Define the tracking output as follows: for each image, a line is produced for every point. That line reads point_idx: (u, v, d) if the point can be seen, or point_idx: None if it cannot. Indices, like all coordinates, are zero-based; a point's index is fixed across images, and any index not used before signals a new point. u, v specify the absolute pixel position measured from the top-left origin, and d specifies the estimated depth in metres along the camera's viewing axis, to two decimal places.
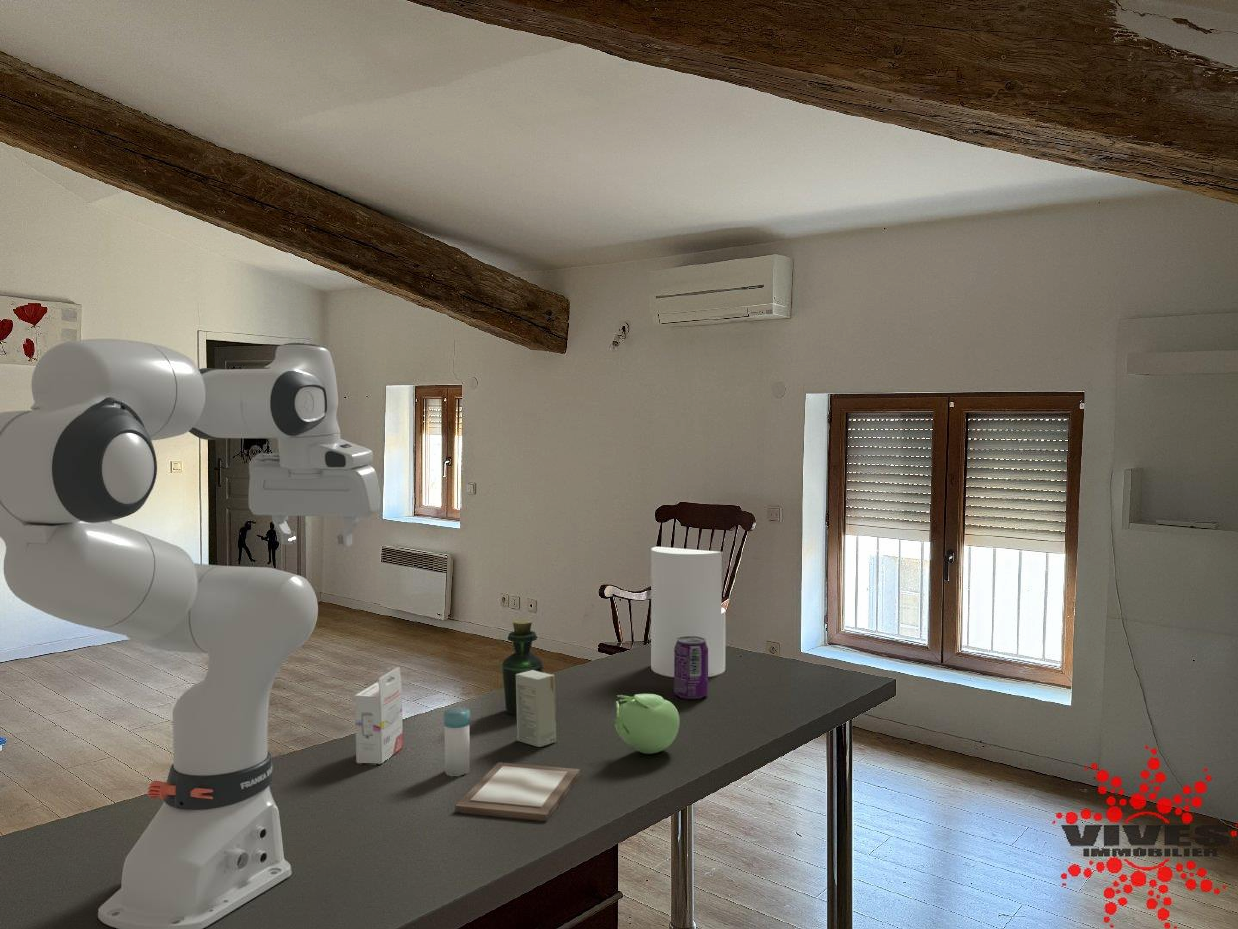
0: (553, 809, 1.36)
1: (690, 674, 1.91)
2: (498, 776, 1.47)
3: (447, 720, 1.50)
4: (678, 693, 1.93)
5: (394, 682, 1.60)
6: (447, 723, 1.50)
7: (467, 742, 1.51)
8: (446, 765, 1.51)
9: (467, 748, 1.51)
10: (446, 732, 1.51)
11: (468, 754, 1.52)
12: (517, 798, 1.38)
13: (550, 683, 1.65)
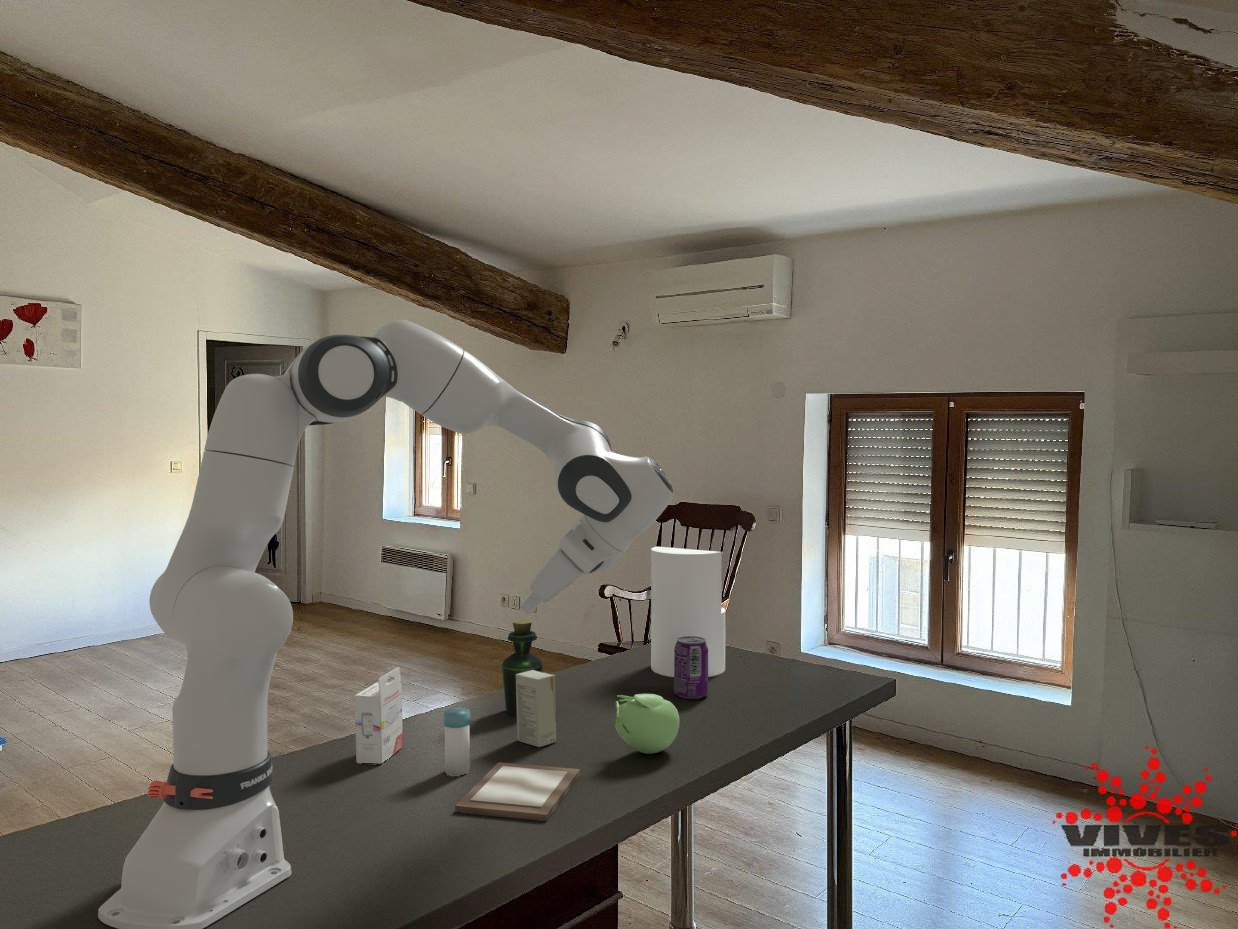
0: (553, 809, 1.36)
1: (690, 674, 1.91)
2: (498, 776, 1.47)
3: (447, 720, 1.50)
4: (678, 693, 1.93)
5: (394, 682, 1.60)
6: (447, 723, 1.50)
7: (467, 742, 1.51)
8: (446, 765, 1.51)
9: (467, 748, 1.51)
10: (446, 732, 1.51)
11: (468, 754, 1.52)
12: (517, 798, 1.38)
13: (550, 683, 1.65)
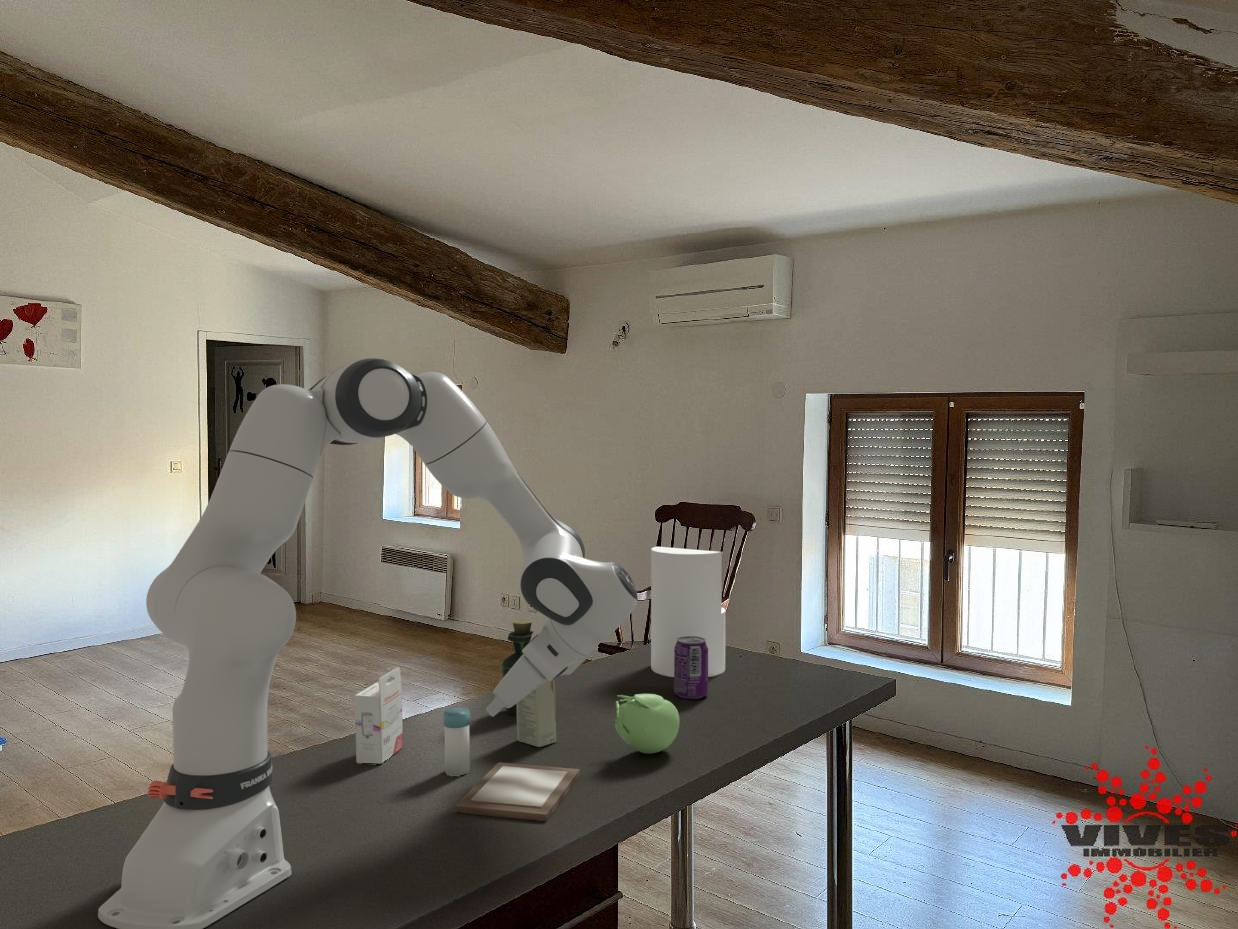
0: (553, 809, 1.36)
1: (690, 674, 1.91)
2: (498, 776, 1.47)
3: (446, 720, 1.50)
4: (678, 693, 1.93)
5: (394, 682, 1.60)
6: (447, 723, 1.50)
7: (467, 742, 1.51)
8: (446, 765, 1.51)
9: (467, 748, 1.51)
10: (446, 732, 1.51)
11: (468, 754, 1.52)
12: (517, 798, 1.38)
13: (550, 683, 1.65)
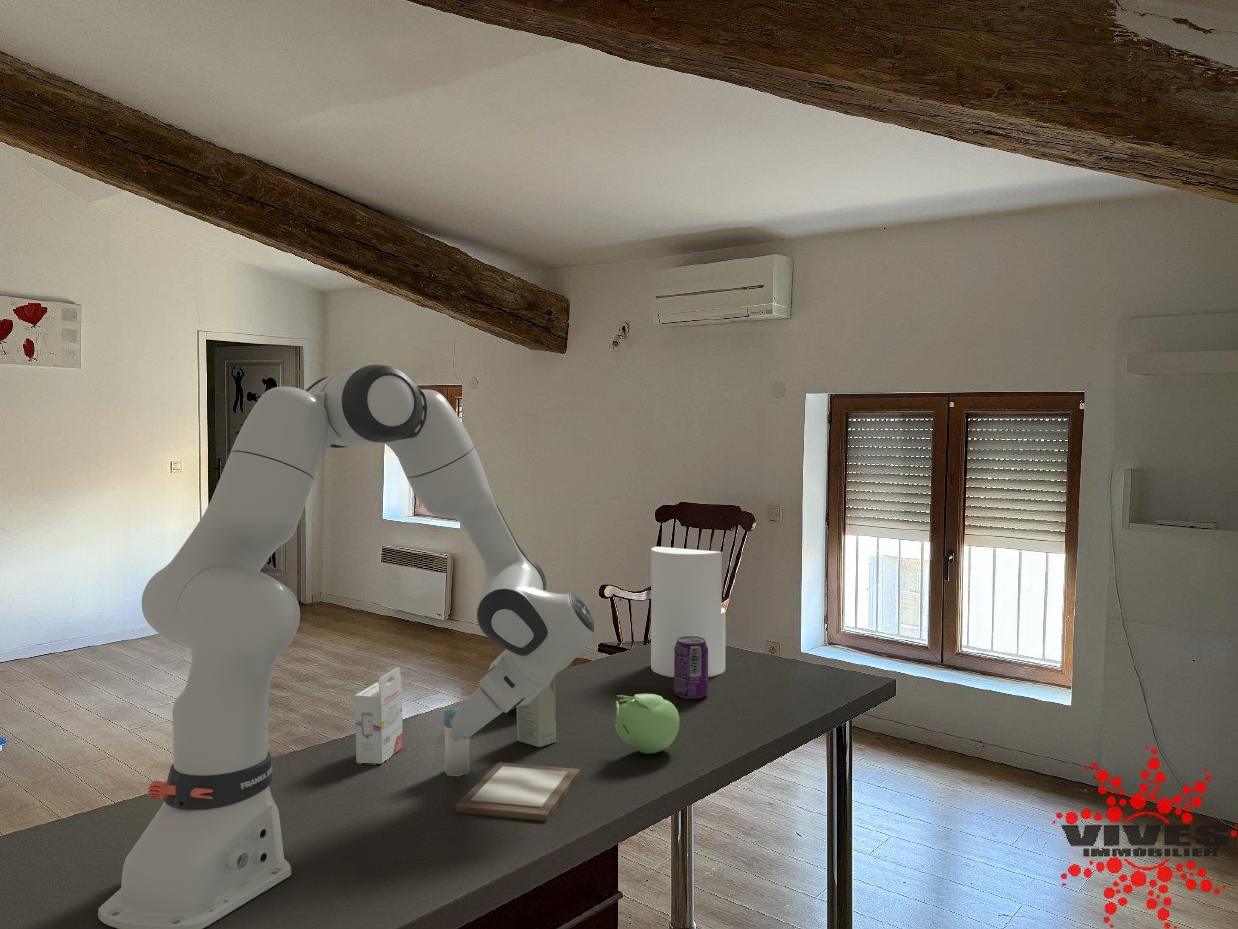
0: (553, 809, 1.36)
1: (690, 674, 1.91)
2: (498, 776, 1.47)
3: (447, 720, 1.50)
4: (678, 693, 1.93)
5: (394, 682, 1.60)
6: (447, 723, 1.50)
7: (467, 742, 1.51)
8: (446, 765, 1.51)
9: (467, 748, 1.51)
10: (446, 732, 1.51)
11: (468, 754, 1.52)
12: (517, 798, 1.38)
13: (550, 683, 1.65)
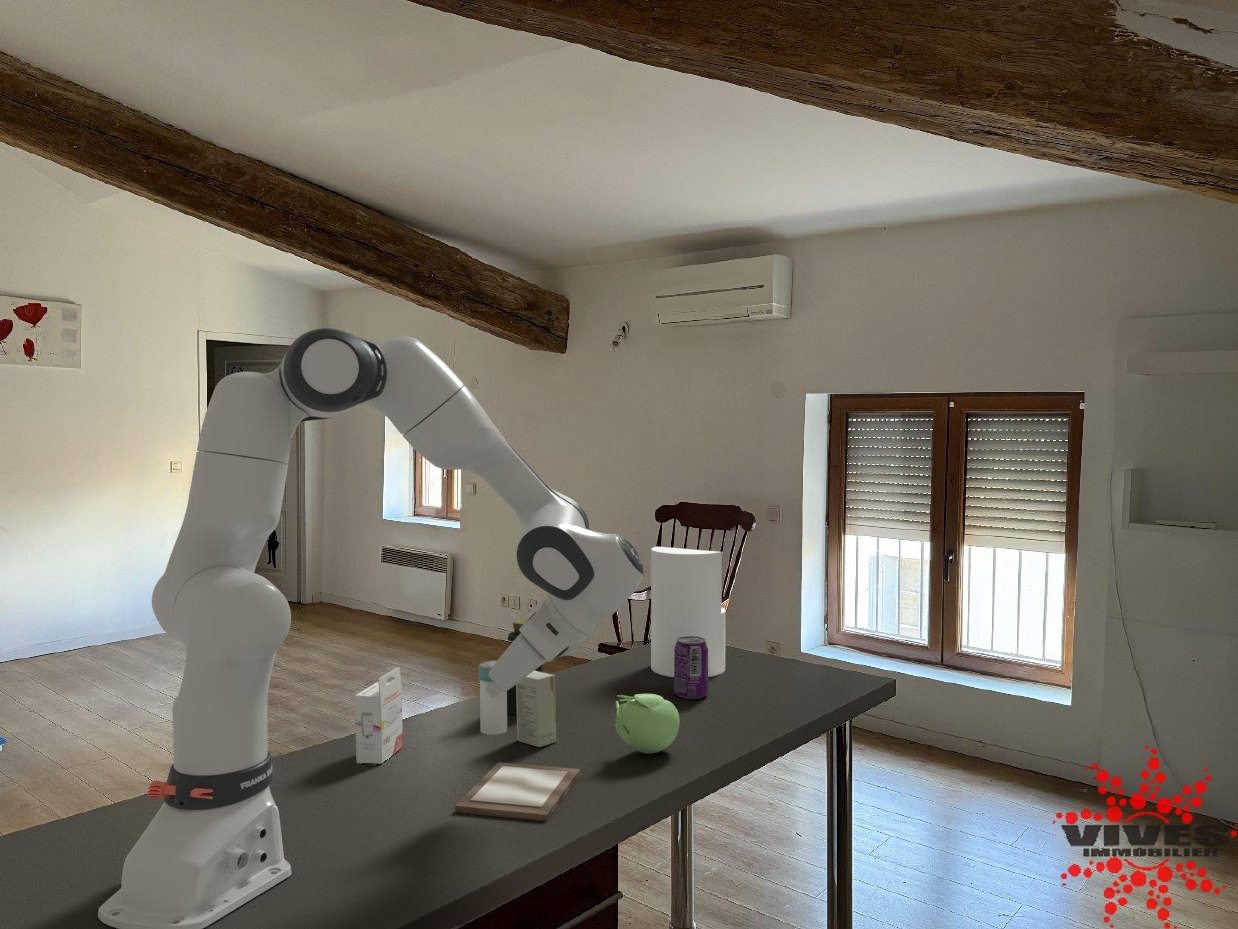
0: (553, 809, 1.36)
1: (690, 674, 1.91)
2: (498, 776, 1.47)
3: (482, 673, 1.38)
4: (678, 693, 1.93)
5: (394, 682, 1.60)
6: (483, 677, 1.38)
7: (504, 697, 1.39)
8: (482, 722, 1.39)
9: (504, 704, 1.39)
10: (482, 686, 1.38)
11: (505, 710, 1.39)
12: (517, 798, 1.38)
13: (550, 683, 1.65)
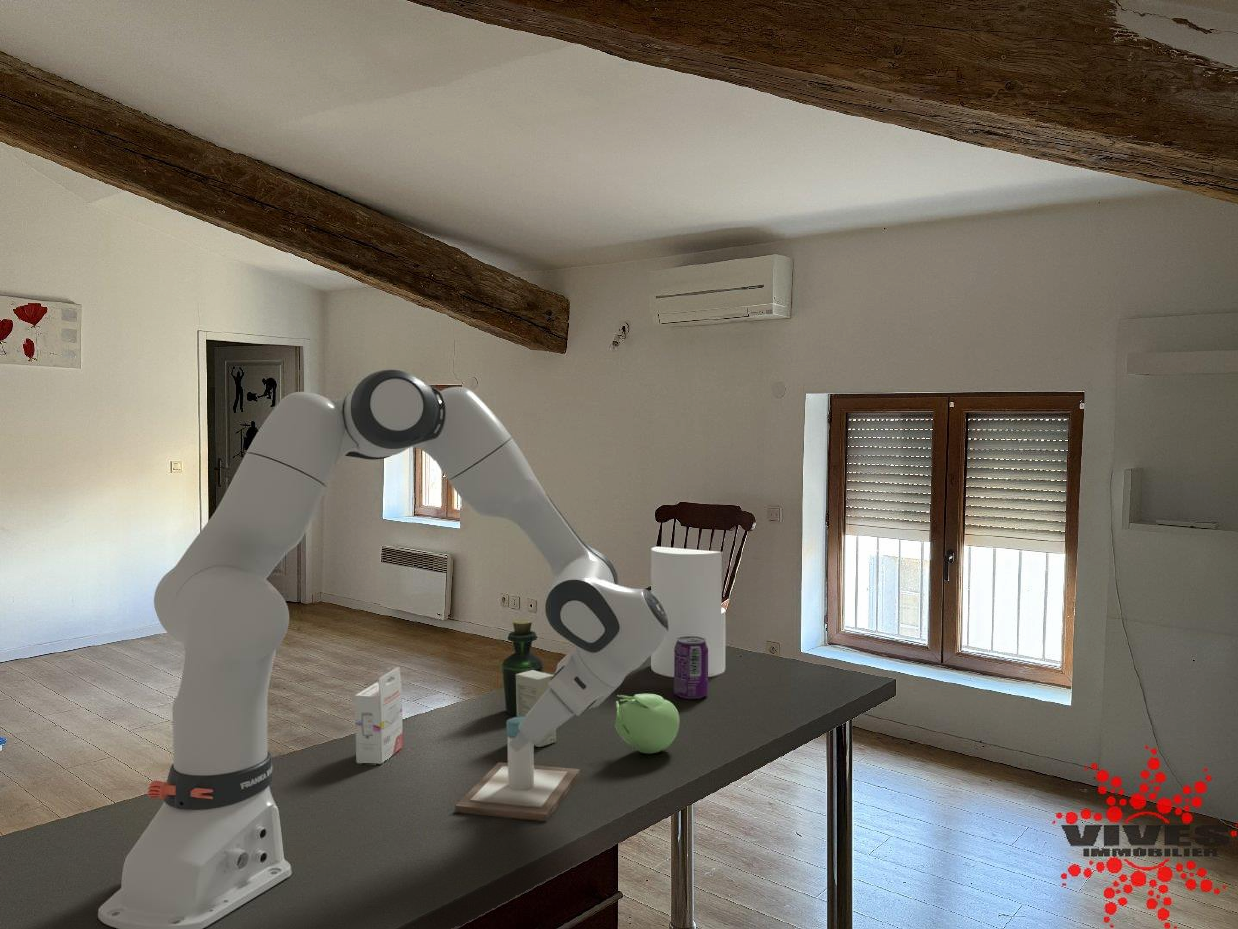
0: (553, 809, 1.36)
1: (690, 674, 1.91)
2: (498, 776, 1.47)
3: (510, 730, 1.41)
4: (678, 693, 1.93)
5: (394, 682, 1.60)
6: (511, 734, 1.42)
7: (532, 753, 1.42)
8: (510, 778, 1.42)
9: (532, 760, 1.42)
10: (509, 743, 1.42)
11: (533, 766, 1.43)
12: (517, 798, 1.38)
13: None
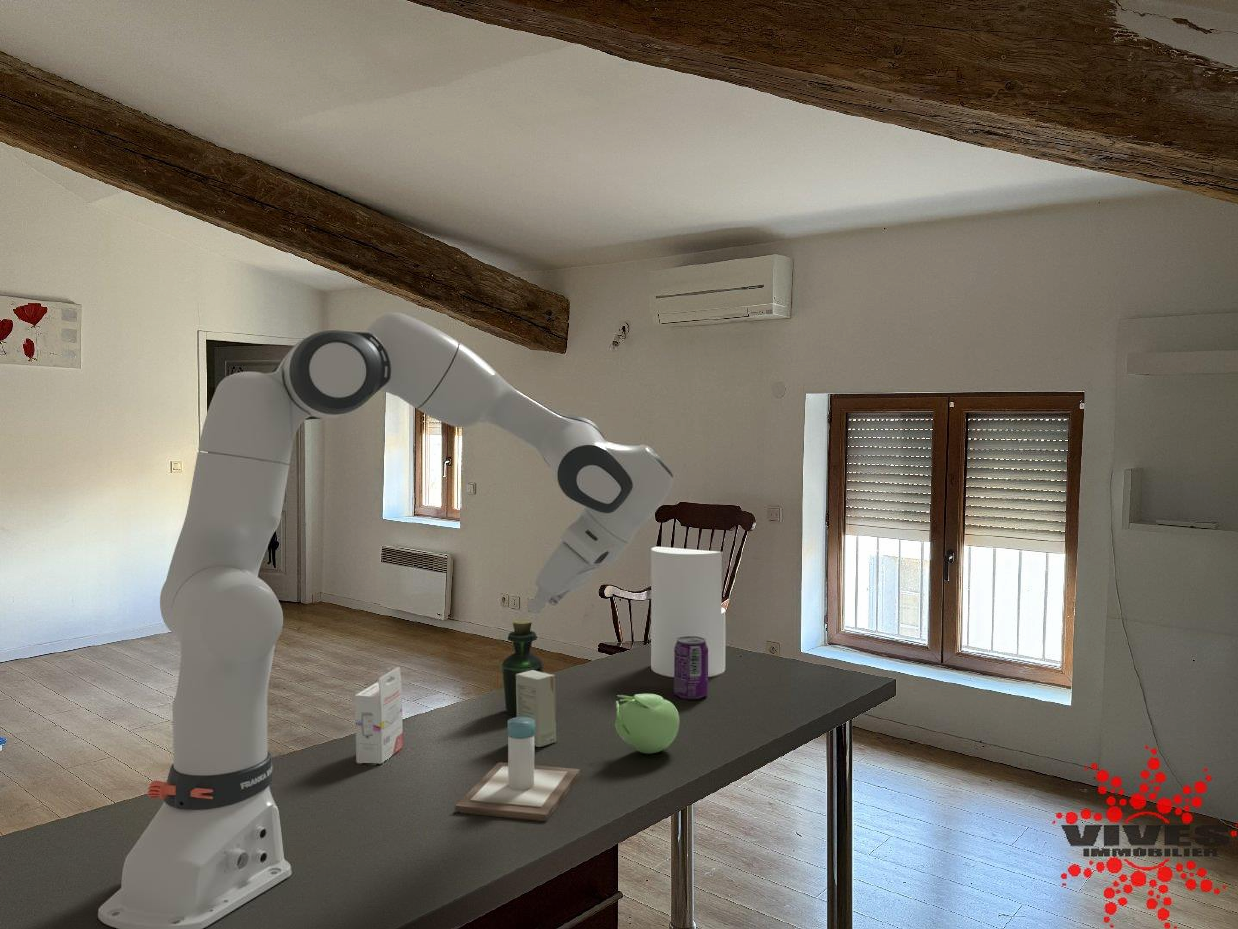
0: (553, 809, 1.36)
1: (690, 674, 1.91)
2: (498, 776, 1.47)
3: (511, 730, 1.41)
4: (678, 693, 1.93)
5: (394, 682, 1.60)
6: (512, 734, 1.41)
7: (532, 754, 1.42)
8: (510, 778, 1.42)
9: (532, 760, 1.42)
10: (510, 743, 1.42)
11: (533, 766, 1.43)
12: (517, 798, 1.38)
13: (550, 683, 1.65)
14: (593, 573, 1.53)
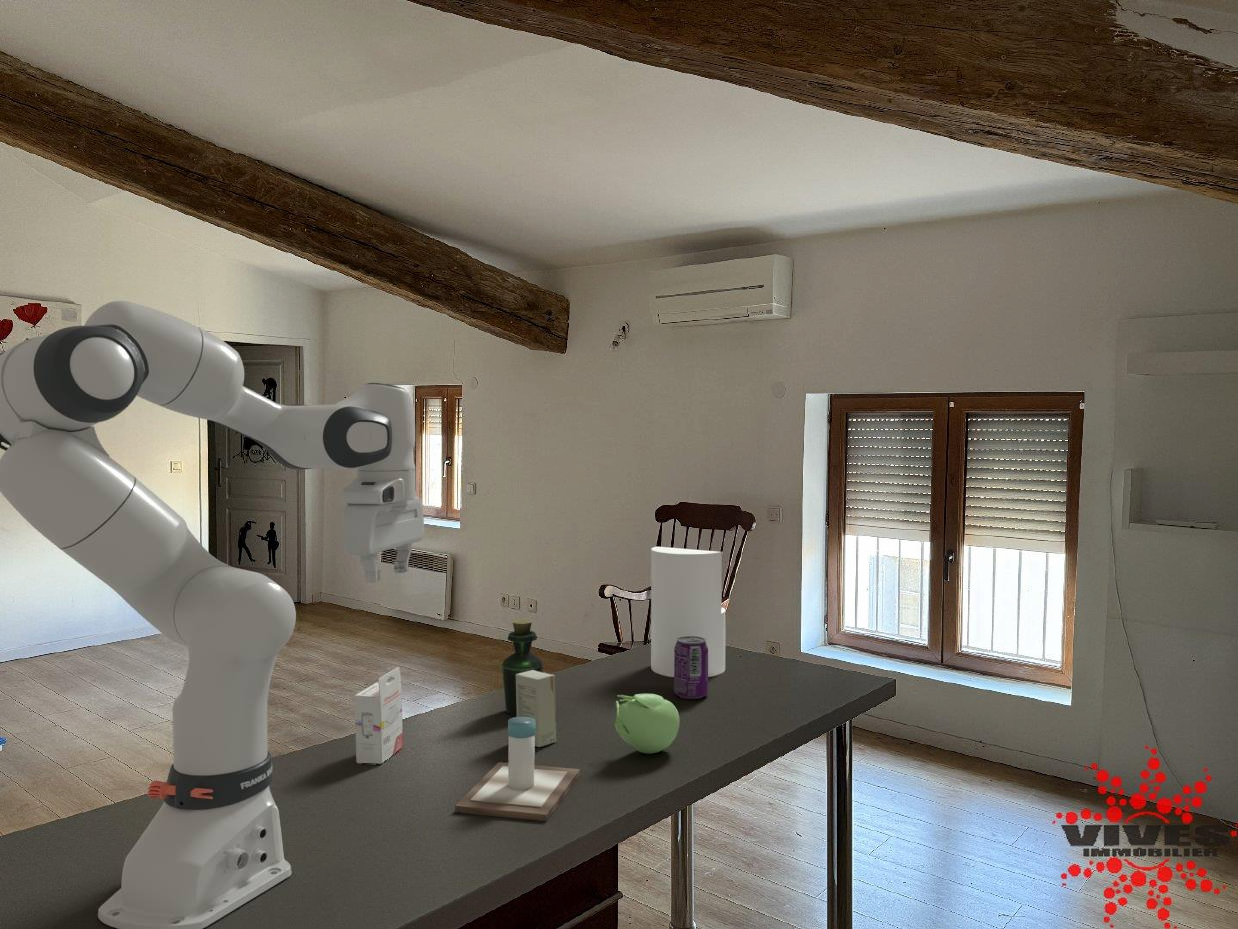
0: (553, 809, 1.36)
1: (690, 674, 1.91)
2: (498, 776, 1.47)
3: (512, 729, 1.42)
4: (678, 693, 1.93)
5: (394, 682, 1.60)
6: (512, 733, 1.42)
7: (532, 753, 1.43)
8: (510, 778, 1.42)
9: (532, 760, 1.43)
10: (511, 742, 1.42)
11: (533, 766, 1.43)
12: (517, 798, 1.38)
13: (550, 683, 1.65)
14: (422, 525, 1.53)
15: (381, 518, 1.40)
